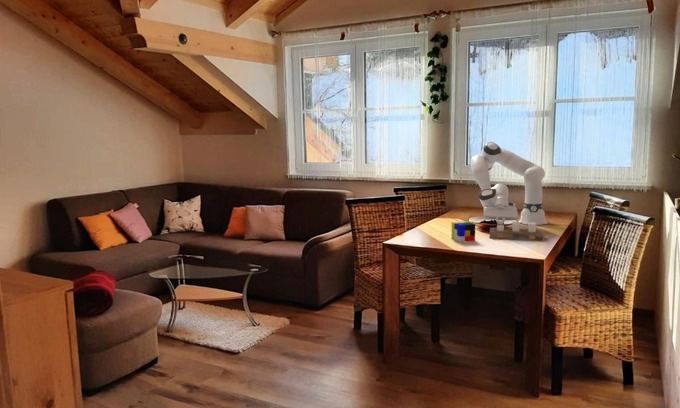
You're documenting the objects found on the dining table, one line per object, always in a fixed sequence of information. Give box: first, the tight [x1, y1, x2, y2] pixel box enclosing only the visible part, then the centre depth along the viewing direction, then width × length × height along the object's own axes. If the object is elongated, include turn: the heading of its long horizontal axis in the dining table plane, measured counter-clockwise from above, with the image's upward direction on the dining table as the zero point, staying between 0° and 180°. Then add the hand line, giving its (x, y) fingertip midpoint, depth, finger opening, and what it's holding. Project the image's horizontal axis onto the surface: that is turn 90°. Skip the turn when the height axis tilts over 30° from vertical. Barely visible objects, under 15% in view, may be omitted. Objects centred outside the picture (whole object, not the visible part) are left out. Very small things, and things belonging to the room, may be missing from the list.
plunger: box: [527, 222, 537, 232], centre depth 307 cm, size 4×4×6 cm
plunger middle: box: [511, 221, 521, 232], centre depth 309 cm, size 4×4×6 cm
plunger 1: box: [496, 224, 505, 231], centre depth 312 cm, size 4×4×6 cm
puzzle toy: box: [451, 220, 476, 243], centre depth 305 cm, size 10×10×10 cm
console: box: [489, 227, 544, 242], centre depth 310 cm, size 12×30×4 cm, turn 73°
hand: (500, 224), depth 312 cm, fingers closed, pressing on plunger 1
